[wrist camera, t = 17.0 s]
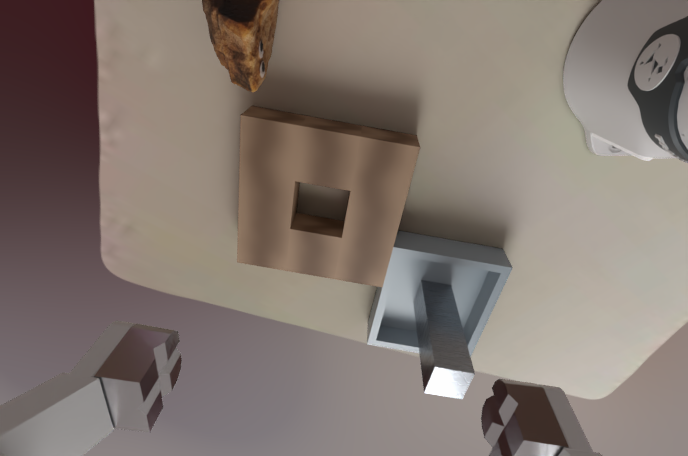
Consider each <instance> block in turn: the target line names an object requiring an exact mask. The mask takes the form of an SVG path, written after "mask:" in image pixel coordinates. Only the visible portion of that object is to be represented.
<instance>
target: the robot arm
mask: <svg viewBox="0 0 688 456" xmlns="http://www.w3.org/2000/svg"><path fill="white" fill-rule="evenodd" d="M563 85H564V92H565V97H566V100H567V102H568V105H569V107H570V109H571V110H572V112H573V113H574V115H575V116H576V117H577V118H578V120H579V121H580V122H581V124H582V125H583V127H584V129H585V136H586V142H587V146H588V148H589V150H590V151H591V152H592V153H595V154H597V155H601V156H623V155H633V156H635V157H637V158H639V159H642V160H646V161H650V160H652V159H653V158H677V159H679V160H681V161H683V162H686V163H688V0H602V1H601V2H600V3H599V4H598V5H597V6H596V7H595V8H594V9H593V10H592V12H591V13H590V14H589V15H588V16H587V18H586V19H585V20H584V22H583V23H582V25H581V26H580V28H579V30H578V31H577V33H576V35H575V37H574V39H573V41H572V43H571V45H570V48H569V51H568V54H567V57H566V61H565V66H564V74H563ZM178 343H179V334H178V331H174V330H169V329H163V328H158V327H152V326H146V325H141V324H134V323H127V322H122V321H115V322H113V323H112V324H110V325H109V326H108V327H107V329H106V330H105V331H104V332H103V333H102V335H101V336H100V337H99V338H98V340H97V341H96V342H95V343H94V344H93V346H92V347H91V348H90V349H89V350H88V351H87V353H86V354H85V355H84V356H83V357H82V359H81V360H80V361H79V362H78V363H77V365H76V366H75V367H74V368H73V369H72V371H71V372H70V373H61V374H59V375H58V376H56V377H54V378H52V379H50V380H48V381H46V382H44V383H42V384H41V385H38V386H37V387H35V388H33V389H31V390H29V391H27V392H25V393H23V394H21V395H20V396H18V397H16V398H14V399H12V400H10V401H8V402H6V403H4V404H3V405H0V456H83V455H84V454H85V453H86V452H88V451H89V450H90V449H91V448H93V447H94V446H95V445H96V444H98V443H99V442H100V441H101V440H103V439H104V438H105V437H106V436H108V435H109V434H110V433H111V432H113V431H114V429H113V428H116V429H124V430H132V431H141V432H151V430H152V428H153V426H154V424H155V422H156V420H157V418H158V417H159V415H160V413H161V411H162V409H163V401H162V397H164V396H165V395H167V394H168V393H170V392H171V391H172V390H173V388H174V386H175V384H176V382H177V380H178V376H179V373H180V370H181V362H182V358H181V353H180V352H179V351H178V350H177V348H176V346H177V345H178ZM492 390H493V393H494V395H493V396H491V397H489V398H488V399H486V401H485V403H484V405H483V408H482V417H481V420H482V421H481V422H482V429H483V434H484V438H485V439H486V440H487V441H488V443H489V444H490V445H491V446H492V447H493V448H492V450H491V452H490V454H489V456H602V455H601V454H600V453H596V452H593V450H592V448H591V446H590V444H589V442H588V440H587V438H586V436H585V434H584V432H583V430H582V428H581V426H580V424H579V422H578V420H577V417H576V415H575V414H574V411H573V409H572V407H571V405H570V403H569V401H568V399H567V397H566V395H565V393H564V391H563V390H562V389H561V388H559V387H553V386H546V385H538V384H534V383H527V382H520V381H512V380H505V379H498V380H497V381H495V383H494V385H493V387H492Z"/></svg>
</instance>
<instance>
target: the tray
mask: <svg viewBox="0 0 688 456" xmlns="http://www.w3.org/2000/svg"><path fill="white" fill-rule="evenodd" d="M511 270H512V266H511V264H510V262H509V260H508V258H507V256H506V254H505V252H504V250H503V249H500V248H495V247H489V246H483V245H478V244H472V243H466V242H460V241H455V240H449V239H443V238H438V237H432V236H426V235H421V234H415V233H409V232H404V231H398V232H397V235H396V239H395V243H394V247H393V250H392V254H391V258H390V261H389V265H388V269H387V273H386V276H385V280H384V284H383V287H377V290H376V294H375V297H374V301H373V305H372V309H371V313H370V317H369V321H368V333H367V344H368V345H374V346H380V347H386V348H392V349H398V350H404V351H409V352H415V353H419V346H418V337H417V329H416V321H415V313H414V305H413V302H414V299H415V296H416V293H417V290H418V287H419V284H420V281H421V280H426V281H432V282H437V283H443V284H449V285H451V286H452V290H453V293H454V297H455V301H456V305H457V308H458V312H459V316H460V320H461V324H462V327H463V331H464V335H465V339H466V342H467V346H468V350H469V354H470V357H471V355H472V353H473V351H474V348H475V346H476V344H477V342H478V340H479V338H480V336H481V334H482V332H483V329H484V327H485V325H486V323H487V321H488V319H489V317H490V315H491V312H492V310H493V308H494V306H495V304H496V302H497V300H498V298H499V296H500V293H501V291H502V289H503V287H504V285H505V283H506V281H507V279H508V276H509V274H510V272H511Z"/></svg>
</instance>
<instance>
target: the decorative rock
mask: <svg viewBox="0 0 688 456" xmlns="http://www.w3.org/2000/svg"><path fill="white" fill-rule="evenodd" d="M202 3H203V11H204V13H205V14H206V19H207V22H208V26H209V33H210V38H211V42H212V44H213V46H214V50H215V52H216V54H217V57H218V58H219V60H220V62H221V64H222V65H223V66H225V68H226V69H228V71H229V74H230V78H231V82H232V83H234V84H237V85H238V86H241V87H243V88H244V89H246V90H248V91H251V92H255V91H257V90H258V88H259V87H260V85H261V84H262V82H263V80H264V79H265V78H266V72H267V67H268V61H269V59H270V57H271V53H272V46H273V40H274V33H275V28H276V22H277V14H278V3H279V0H202Z"/></svg>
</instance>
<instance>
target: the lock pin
mask: <svg viewBox="0 0 688 456" xmlns="http://www.w3.org/2000/svg"><path fill="white" fill-rule="evenodd" d="M413 305H414V313H415V321H416V329H417V337H418V346H419V354H420V361H421V370H422V378H423V386H424V393H429V394H434V395H440V396H446V397H452V398H458V399H462V398H463V396H464V394H465V392H466V390H467V388H468V386H469V384H470V382H471V380H472V378H473V376H474V374H475V373H474V369H473V365H472V361H471V358H470V354H469V350H468V346H467V342H466V339H465V335H464V331H463V327H462V324H461V320H460V316H459V312H458V308H457V305H456V301H455V297H454V293H453V290H452V286H451V285H449V284H443V283H437V282H432V281H426V280H421V281H420V284H419V287H418V290H417V293H416V296H415V299H414V302H413Z"/></svg>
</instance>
